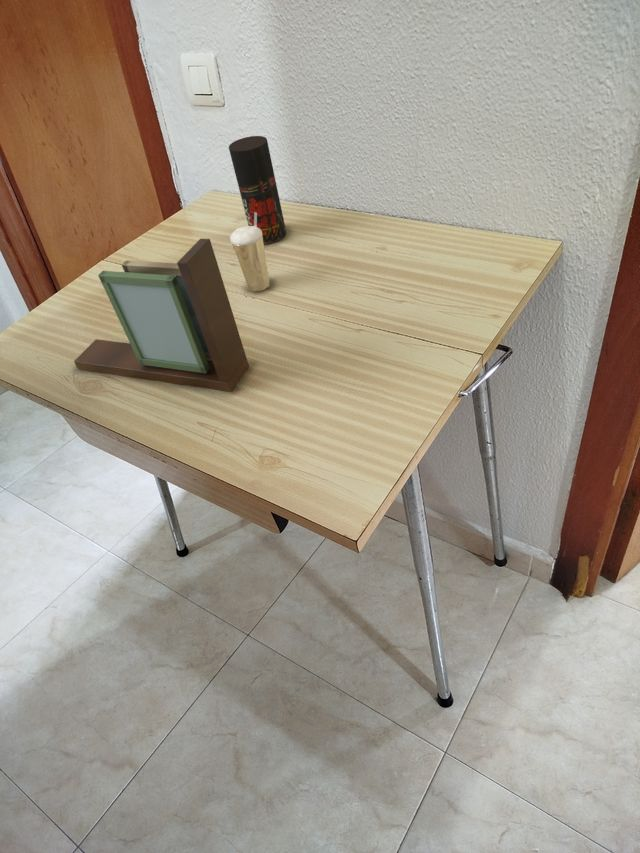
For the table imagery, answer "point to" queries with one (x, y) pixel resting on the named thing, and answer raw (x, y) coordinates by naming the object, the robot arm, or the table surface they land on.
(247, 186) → the deodorant
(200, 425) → the table surface
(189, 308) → the window frame
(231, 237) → the milkshake
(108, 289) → the panel
